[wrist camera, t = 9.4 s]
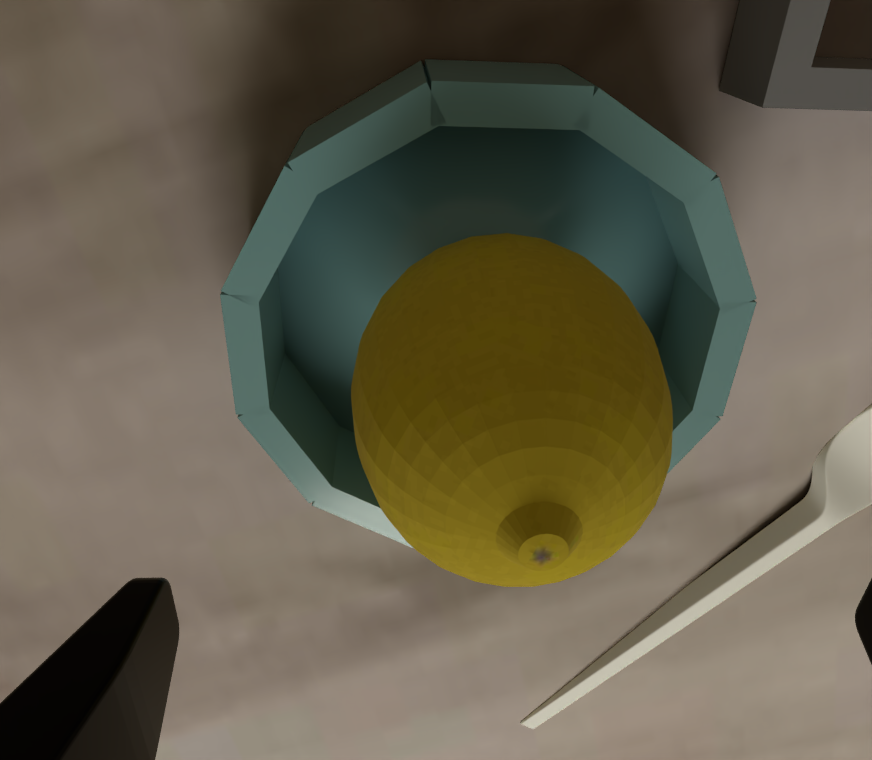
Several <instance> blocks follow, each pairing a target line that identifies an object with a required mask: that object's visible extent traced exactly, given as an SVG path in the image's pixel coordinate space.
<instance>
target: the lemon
mask: <svg viewBox="0 0 872 760" xmlns="http://www.w3.org/2000/svg"><path fill="white" fill-rule="evenodd" d="M351 402H352V412H353V423H354V433H355V441H356V446H357V450H358V455H359V458H360V461H361V464H362V467H363V469H364V471H365V474H366V476H367V478H368V481H369V483H370V485H371V488H372V490H373V492H374V495H375V497H376V499H377V501H378V504H379V506H380V508H381V509H382V511H383V512H384V514H385V515H386V517H387V518H388V520H389V521H390V522H391V523H392V525H393V526H394V527H395V528H396V529H397V531H398V532H399V533H400V534H401V535H402V537H403V538H404V539H405V540H406V541H407V542H408V543H409V544H410V545H411V546H412V547H413V548H414V549H416V550H417V551H418V552H419V553H421V554H422V555H424V556H425V557H426V558H428V559H429V560H431V561H432V562H434V563H435V564H436V565H438V566H439V567H441V568H443V569H446V570H448V571H450V572H453V573H455V574H458V575H460V576H463V577H465V578H468V579H470V580H473V581H475V582H481V583H487V584H492V585H498V586H506V587H531V586H539V585H544V584H550V583H555V582H560V581H562V580H565V579H568V578H570V577H573V576H576V575H578V574H581V573H584V572H586V571H588V570H589V569H591V568H593V567H594V566H596V565H598V564H599V563H601V562H603V561H604V560H606V559H608V558H609V557H611V556H612V555H613V554H614V553H616V552H617V551H618V550H619V549H620V548H621V547H622V546H623V545H624V544H625V543H626V542H627V541H629V540H630V539H631V538H632V537H633V536H634V534H635V533H636V532H637V531H638V530H639V528H640V527H641V525H642V524H643V522H644V521H645V520H646V518H647V517H648V515H649V514H650V512H651V511H652V509H653V508H654V506H655V505H656V502H657V500H658V497H659V495H660V492H661V489H662V486H663V484H664V481H665V478H666V475H667V472H668V469H669V467H670V461H671V454H672V431H673V413H672V402H671V395H670V390H669V387H668V383H667V379H666V376H665V372H664V369H663V365H662V362H661V358H660V355H659V352H658V348H657V345H656V343H655V340H654V338H653V335H652V333H651V332H650V330H649V328H648V326H647V325H646V323H645V322H644V320H643V319H642V317H641V316H640V314H639V313H638V311H637V310H636V308H635V306H634V305H633V303H632V302H631V300H630V299H629V297H628V296H627V295H626V293H625V292H624V291H623V290H622V288H621V287H620V286H619V285H618V284H617V283H616V282H614V281H613V280H612V279H611V278H610V277H608V276H607V275H606V274H605V273H604V272H602V271H601V270H600V269H599V268H597V267H596V266H595V265H594V264H592V263H591V262H590V261H589V260H588V259H586V258H585V257H583V256H582V255H580V254H578V253H576V252H573V251H571V250H569V249H566V248H564V247H562V246H559V245H557V244H555V243H552V242H550V241H548V240H545V239H542V238H536V237H529V236H523V235H516V234H510V233H502V234H492V235H482V236H472V237H469V238H466V239H463V240H460V241H457V242H454V243H452V244H449V245H446V246H443V247H440V248H438V249H436V250H435V251H433V252H432V253H430V254H429V255H427V256H425V257H424V258H422V259H421V260H419V261H418V262H416V263H415V264H413V265H412V266H410V267H409V268H408V269H407V270H406V271H405V272H404V273H403V274H402V275H401V276H400V278H399V279H398V280H397V281H396V282H395V283H394V284H393V285H392V286H391V287H390V288H389V289H388V291H387V292H386V293H385V294H384V295H383V296H382V297H381V299H380V301H379V303H378V305H377V307H376V309H375V311H374V313H373V315H372V317H371V319H370V321H369V322H368V324H367V326H366V328H365V330H364V332H363V334H362V337H361V340H360V343H359V348H358V353H357V358H356V363H355V368H354V373H353V378H352V385H351Z"/></svg>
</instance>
